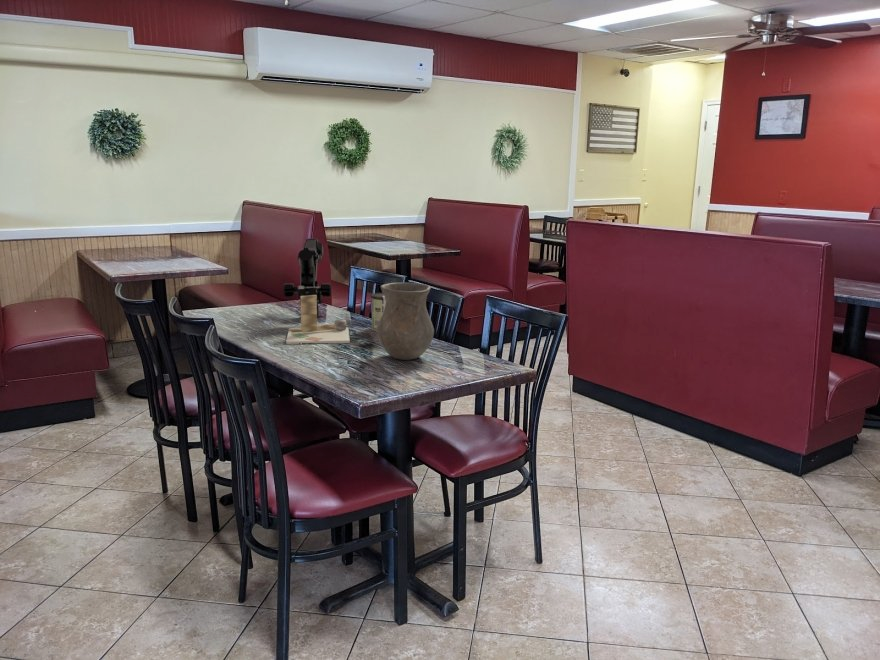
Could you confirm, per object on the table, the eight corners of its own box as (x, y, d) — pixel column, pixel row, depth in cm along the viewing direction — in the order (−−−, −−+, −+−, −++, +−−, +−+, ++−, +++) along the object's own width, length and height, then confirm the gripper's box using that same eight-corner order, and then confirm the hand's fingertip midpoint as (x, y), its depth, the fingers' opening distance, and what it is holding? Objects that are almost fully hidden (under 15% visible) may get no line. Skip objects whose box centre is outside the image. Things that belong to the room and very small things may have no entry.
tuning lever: (343, 326, 276) (343, 292, 273) (348, 329, 272) (347, 293, 269) (289, 332, 265) (288, 296, 261) (293, 334, 261) (292, 298, 258)
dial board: (348, 329, 277) (348, 326, 277) (349, 343, 256) (349, 339, 256) (289, 330, 274) (289, 327, 274) (286, 344, 253) (286, 340, 252)
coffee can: (397, 326, 285) (398, 292, 282) (395, 332, 275) (396, 297, 272) (372, 326, 285) (372, 292, 282) (369, 331, 275) (369, 296, 272)
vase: (442, 354, 244) (443, 284, 238) (420, 368, 226) (421, 292, 221) (391, 348, 251) (391, 279, 245) (366, 360, 233) (366, 287, 228)
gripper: (330, 287, 291) (331, 318, 282) (285, 287, 288) (284, 318, 280) (330, 271, 281) (331, 303, 273) (283, 271, 278) (282, 303, 270)
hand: (307, 307), depth 274 cm, fingers closed
